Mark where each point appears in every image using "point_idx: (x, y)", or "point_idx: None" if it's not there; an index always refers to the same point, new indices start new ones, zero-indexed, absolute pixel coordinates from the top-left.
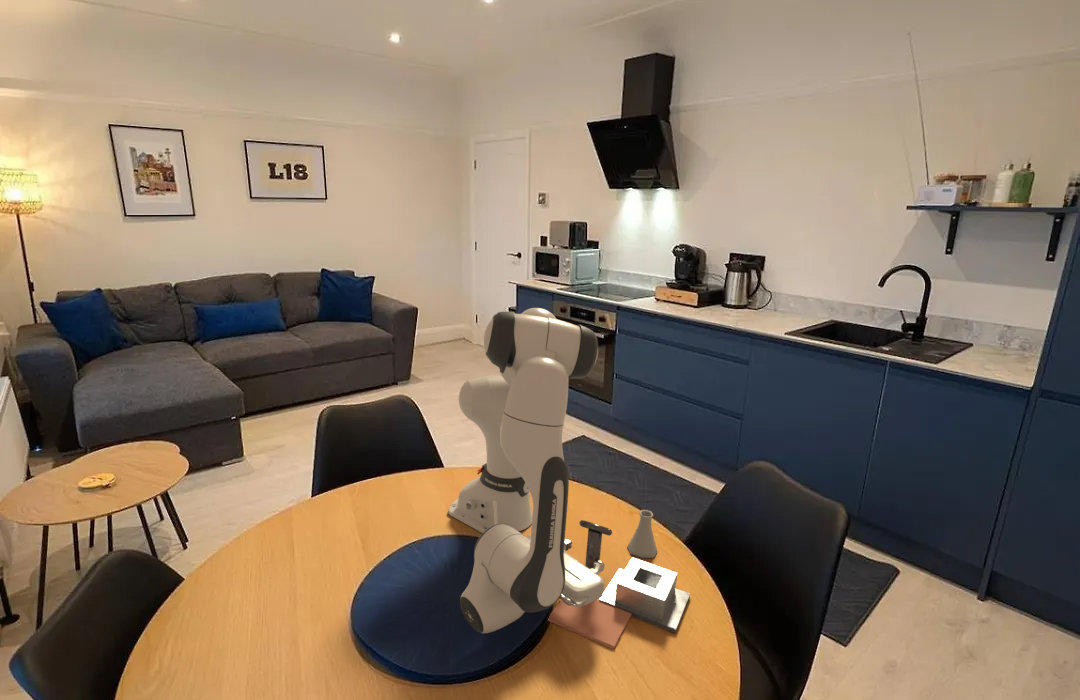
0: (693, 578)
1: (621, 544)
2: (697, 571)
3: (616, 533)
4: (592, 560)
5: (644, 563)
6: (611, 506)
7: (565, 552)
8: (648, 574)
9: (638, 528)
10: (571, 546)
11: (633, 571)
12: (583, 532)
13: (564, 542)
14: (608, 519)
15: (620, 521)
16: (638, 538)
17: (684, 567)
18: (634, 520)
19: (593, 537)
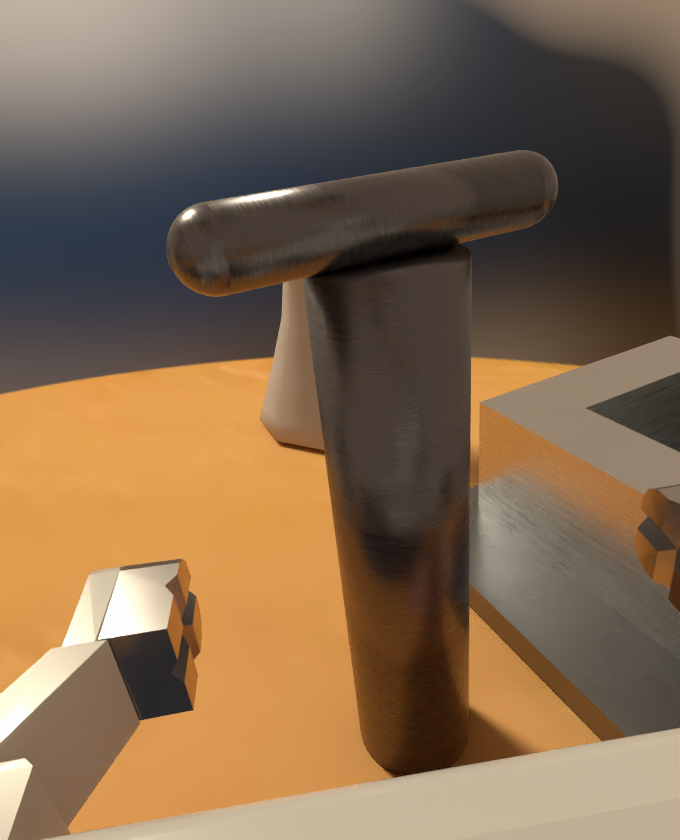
0: None
1: (245, 450)
2: (526, 362)
3: (177, 436)
4: (456, 565)
5: (555, 386)
6: (55, 392)
7: (424, 790)
8: (623, 416)
9: (300, 326)
10: (198, 609)
11: (622, 439)
12: (41, 521)
13: (123, 635)
14: (92, 423)
15: (140, 403)
16: None
17: (491, 375)
18: (178, 378)
19: (444, 318)
